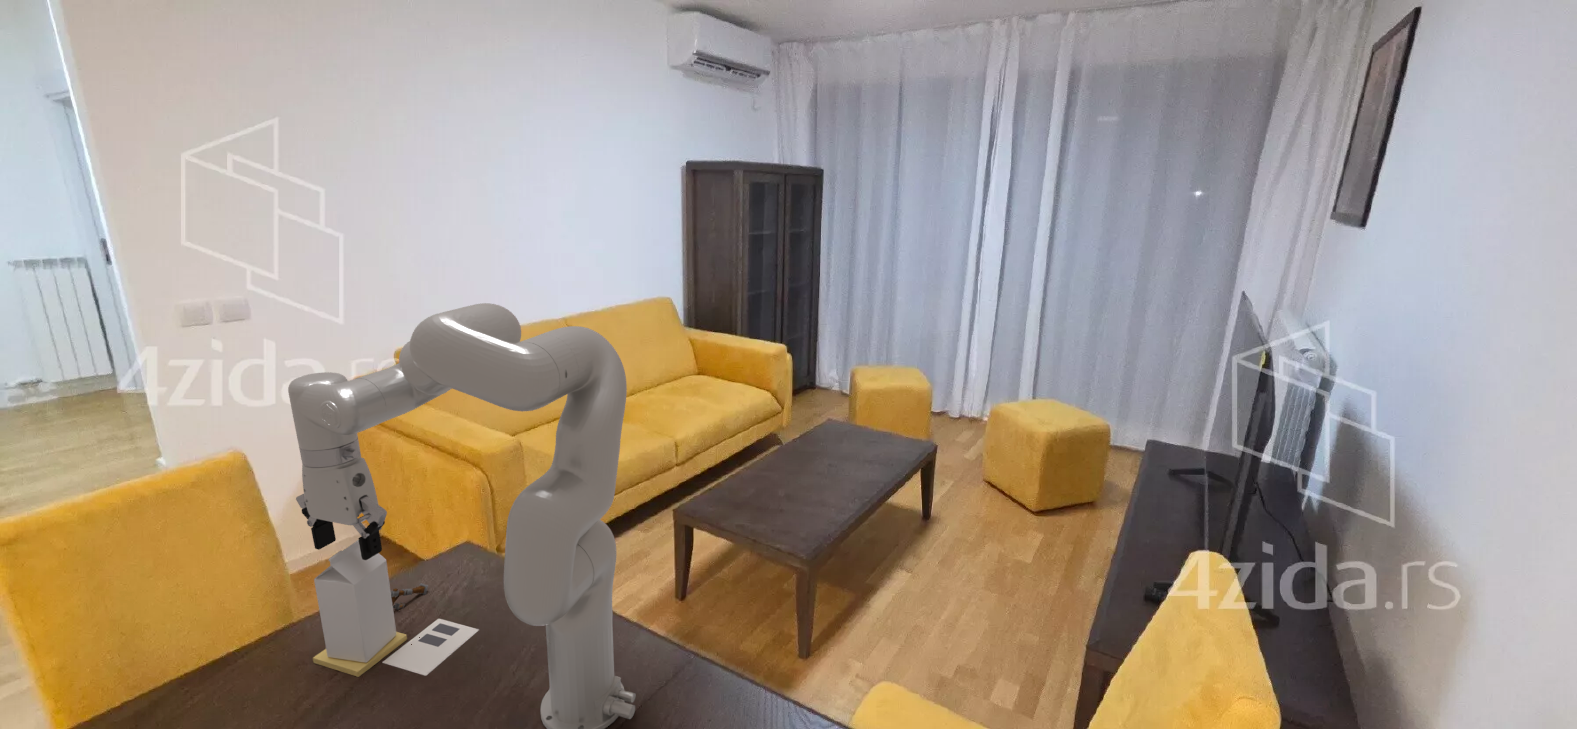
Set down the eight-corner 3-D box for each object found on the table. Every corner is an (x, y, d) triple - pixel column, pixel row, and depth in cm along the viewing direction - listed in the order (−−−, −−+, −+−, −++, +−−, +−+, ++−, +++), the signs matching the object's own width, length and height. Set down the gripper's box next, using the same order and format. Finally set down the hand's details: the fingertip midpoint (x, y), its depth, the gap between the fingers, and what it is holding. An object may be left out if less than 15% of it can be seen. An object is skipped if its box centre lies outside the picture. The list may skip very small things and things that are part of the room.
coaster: (407, 639, 114) (406, 634, 114) (358, 676, 105) (357, 671, 105) (364, 627, 117) (363, 622, 116) (313, 662, 108) (312, 657, 108)
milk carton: (397, 635, 114) (383, 538, 108) (366, 664, 107) (350, 562, 102) (360, 630, 114) (344, 533, 109) (327, 658, 108) (309, 557, 102)
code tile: (479, 630, 117) (479, 629, 117) (426, 677, 106) (425, 675, 106) (438, 619, 120) (438, 618, 120) (382, 663, 109) (382, 662, 109)
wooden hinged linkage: (379, 613, 119) (385, 588, 120) (415, 605, 127) (421, 582, 127) (386, 616, 119) (393, 590, 119) (422, 608, 126) (428, 584, 127)
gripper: (395, 450, 102) (410, 547, 107) (312, 437, 107) (329, 530, 111) (352, 469, 95) (370, 572, 100) (264, 454, 100) (285, 553, 104)
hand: (348, 550), depth 106 cm, fingers open, 9 cm apart
